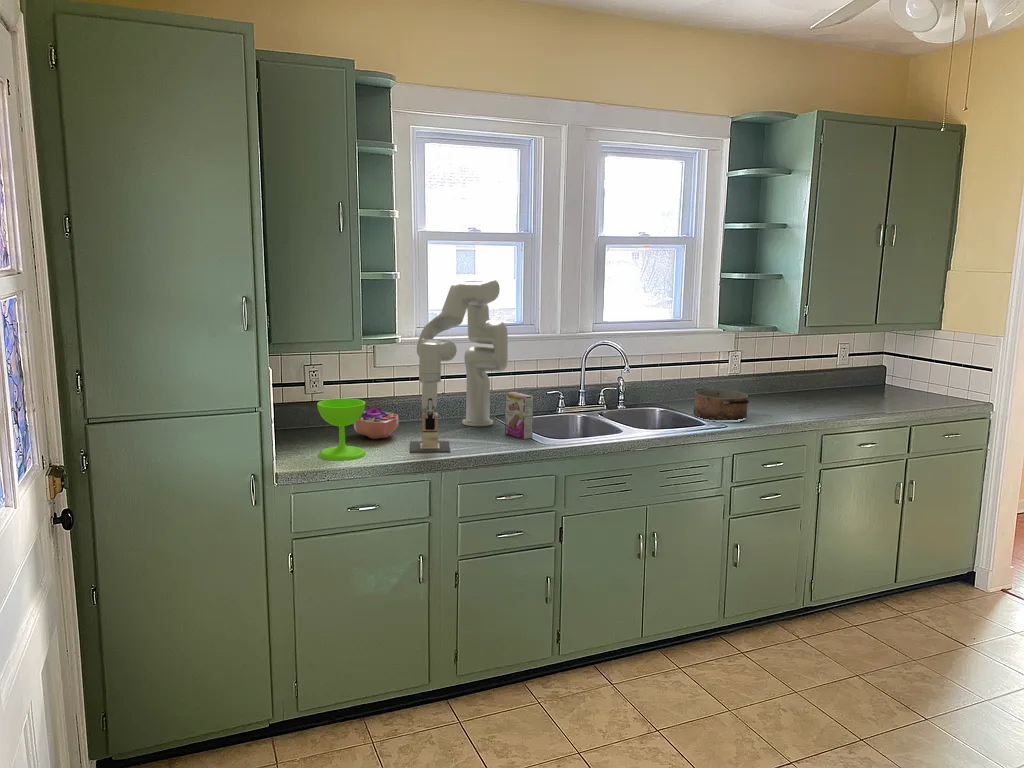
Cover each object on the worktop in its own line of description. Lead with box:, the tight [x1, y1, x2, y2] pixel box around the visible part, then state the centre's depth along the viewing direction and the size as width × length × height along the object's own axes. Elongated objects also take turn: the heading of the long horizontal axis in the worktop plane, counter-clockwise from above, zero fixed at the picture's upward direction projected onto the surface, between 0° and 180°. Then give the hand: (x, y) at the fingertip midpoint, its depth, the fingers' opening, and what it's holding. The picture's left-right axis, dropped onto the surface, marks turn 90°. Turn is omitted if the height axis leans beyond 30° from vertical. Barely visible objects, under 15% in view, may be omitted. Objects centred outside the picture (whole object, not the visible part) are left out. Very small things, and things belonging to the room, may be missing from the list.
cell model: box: [353, 405, 399, 440], centre depth 290 cm, size 17×20×11 cm
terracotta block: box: [421, 411, 439, 432], centre depth 276 cm, size 6×6×6 cm
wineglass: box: [316, 397, 367, 462], centre depth 264 cm, size 16×16×18 cm
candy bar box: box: [504, 391, 534, 440], centre depth 296 cm, size 11×5×16 cm, turn 41°
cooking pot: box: [693, 388, 750, 420], centre depth 338 cm, size 30×22×11 cm
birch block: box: [421, 430, 439, 448], centre depth 277 cm, size 6×6×6 cm
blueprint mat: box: [409, 440, 451, 454], centre depth 277 cm, size 14×14×1 cm
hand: (429, 426), depth 276 cm, fingers closed on terracotta block, 5 cm apart
